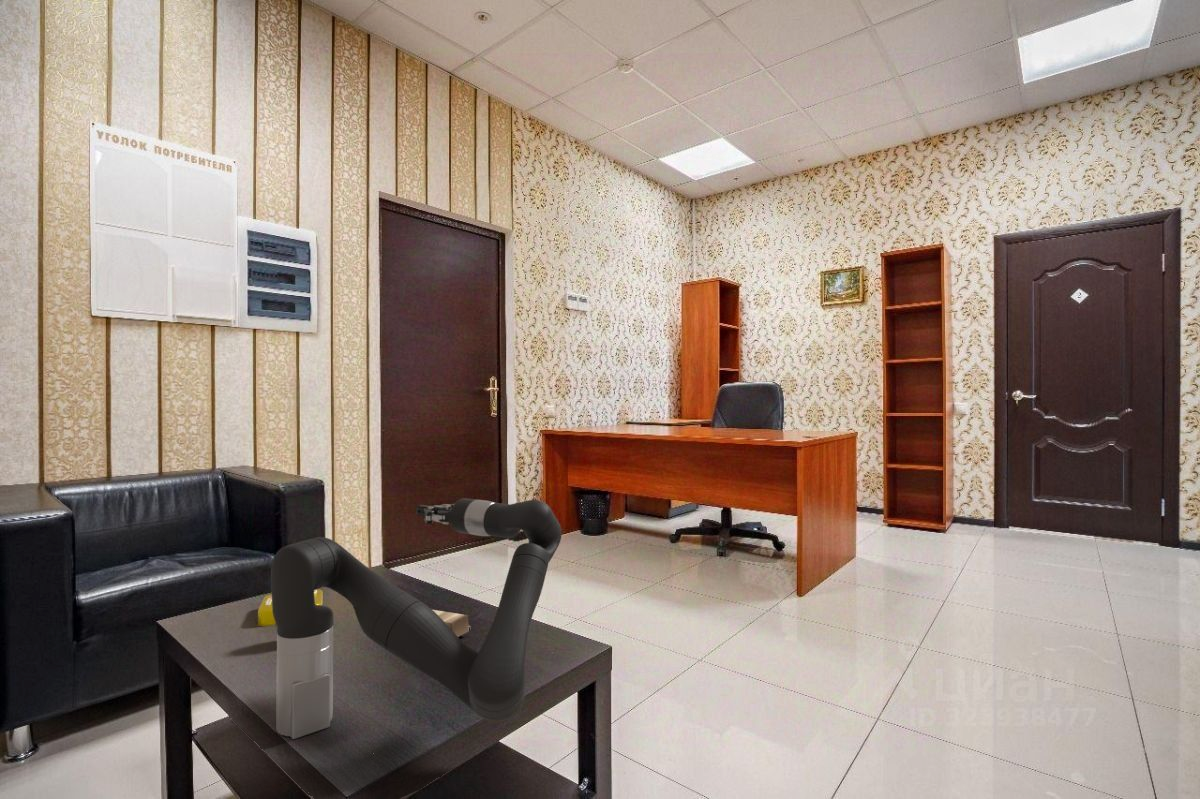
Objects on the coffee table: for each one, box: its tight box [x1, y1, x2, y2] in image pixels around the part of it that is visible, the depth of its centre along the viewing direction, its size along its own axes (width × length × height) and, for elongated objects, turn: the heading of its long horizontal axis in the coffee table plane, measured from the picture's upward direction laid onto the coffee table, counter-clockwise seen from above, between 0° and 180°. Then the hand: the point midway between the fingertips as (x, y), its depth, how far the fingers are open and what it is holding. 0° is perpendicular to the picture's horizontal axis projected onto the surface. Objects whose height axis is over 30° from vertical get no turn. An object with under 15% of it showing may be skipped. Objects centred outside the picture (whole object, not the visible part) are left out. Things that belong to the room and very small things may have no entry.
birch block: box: [432, 609, 470, 638], centre depth 145 cm, size 4×6×14 cm
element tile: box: [257, 588, 324, 627], centre depth 159 cm, size 15×15×5 cm
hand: (419, 509), depth 132 cm, fingers closed
